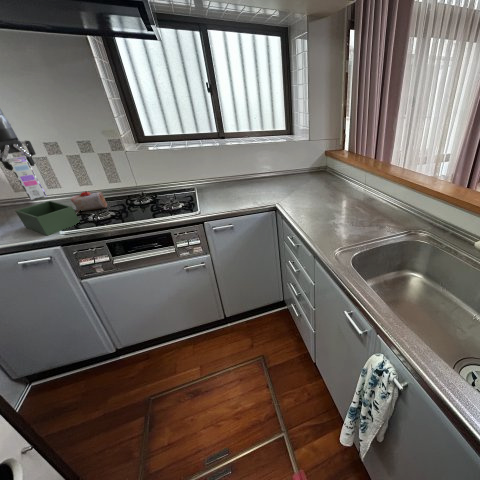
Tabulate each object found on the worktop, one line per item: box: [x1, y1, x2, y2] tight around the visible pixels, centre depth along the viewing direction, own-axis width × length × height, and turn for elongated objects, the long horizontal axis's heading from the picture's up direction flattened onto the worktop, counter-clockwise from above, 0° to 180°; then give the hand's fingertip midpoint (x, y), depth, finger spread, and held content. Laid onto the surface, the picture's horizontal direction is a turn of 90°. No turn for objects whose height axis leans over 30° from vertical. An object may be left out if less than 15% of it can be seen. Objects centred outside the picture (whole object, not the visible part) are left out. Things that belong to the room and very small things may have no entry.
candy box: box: [7, 156, 48, 201], centre depth 119 cm, size 14×6×16 cm, turn 47°
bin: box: [14, 200, 81, 237], centre depth 128 cm, size 20×14×9 cm
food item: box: [70, 190, 108, 213], centre depth 145 cm, size 14×8×10 cm, turn 115°
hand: (21, 167), depth 117 cm, fingers closed on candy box, 7 cm apart
